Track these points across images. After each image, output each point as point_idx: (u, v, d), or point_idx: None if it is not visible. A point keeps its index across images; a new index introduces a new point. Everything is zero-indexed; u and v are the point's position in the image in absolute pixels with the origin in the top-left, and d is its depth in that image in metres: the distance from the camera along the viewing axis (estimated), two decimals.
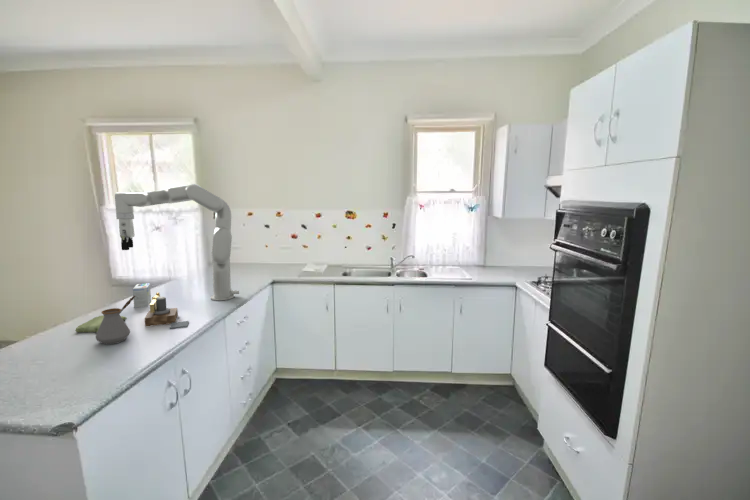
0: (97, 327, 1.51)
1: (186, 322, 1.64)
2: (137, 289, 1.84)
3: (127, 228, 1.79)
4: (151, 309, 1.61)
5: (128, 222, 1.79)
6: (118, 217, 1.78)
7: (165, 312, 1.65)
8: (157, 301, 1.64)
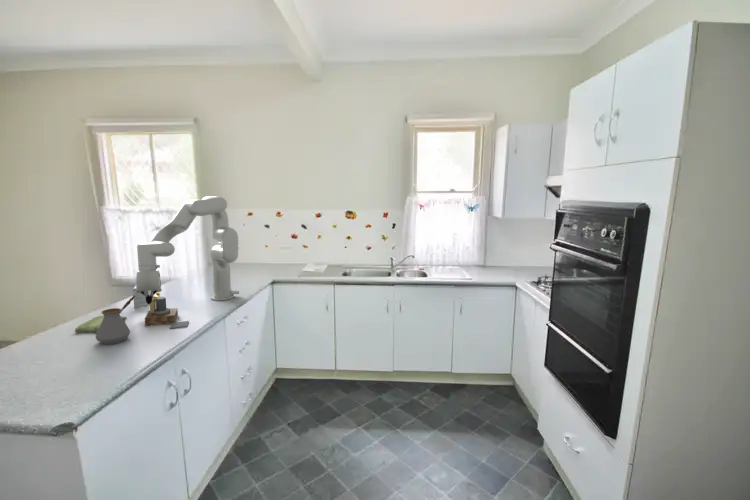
0: (97, 327, 1.51)
1: (186, 322, 1.64)
2: None
3: (160, 278, 1.76)
4: (151, 309, 1.61)
5: None
6: (153, 269, 1.71)
7: (165, 312, 1.65)
8: (157, 301, 1.64)
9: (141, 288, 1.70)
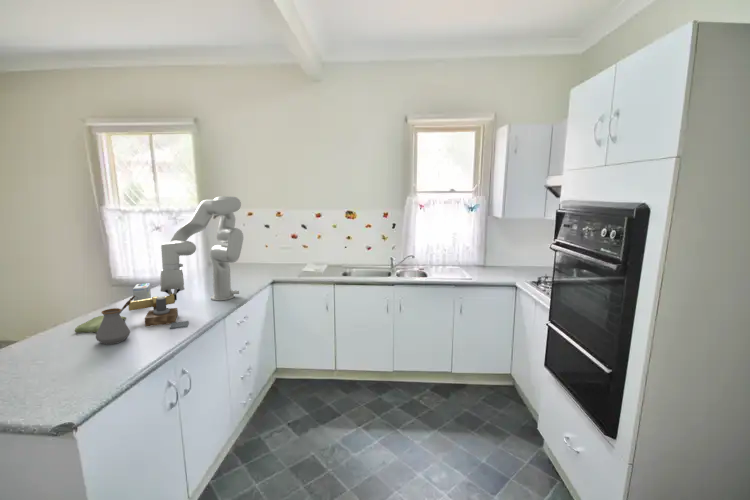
0: (96, 327, 1.51)
1: (186, 322, 1.64)
2: (137, 289, 1.84)
3: None
4: None
5: None
6: (177, 268, 1.75)
7: (165, 312, 1.65)
8: (157, 301, 1.64)
9: (165, 287, 1.74)
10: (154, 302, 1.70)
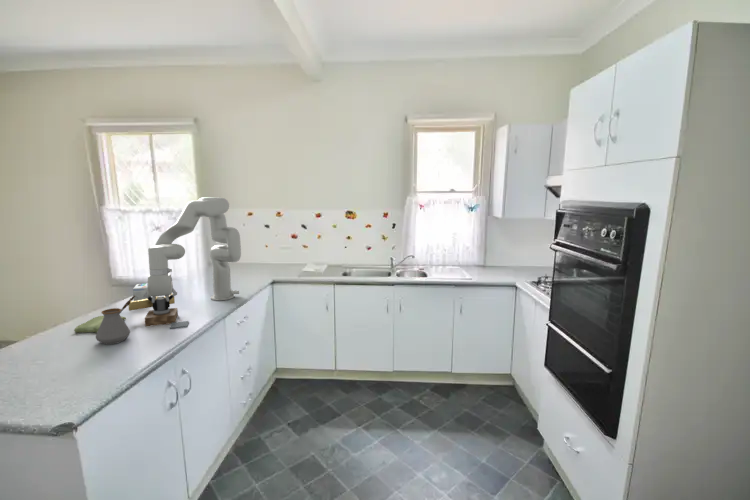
0: (96, 327, 1.51)
1: (186, 322, 1.64)
2: (137, 289, 1.84)
3: None
4: None
5: None
6: (165, 273, 1.63)
7: (165, 312, 1.65)
8: (157, 301, 1.64)
9: (152, 293, 1.62)
10: None
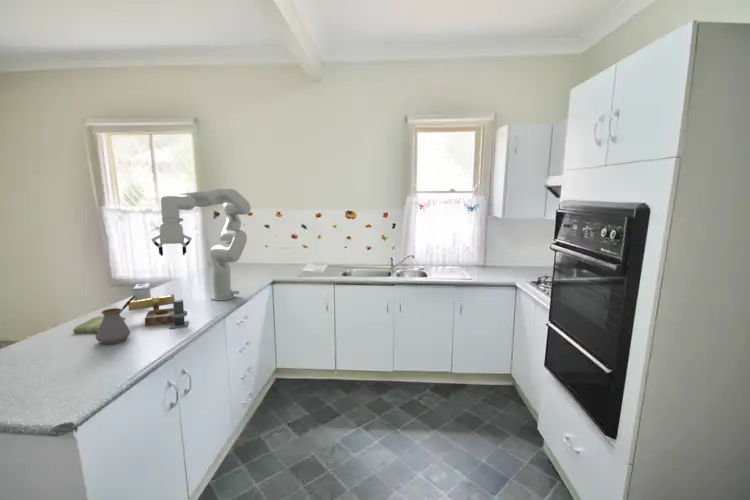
0: (95, 328, 1.51)
1: (186, 322, 1.64)
2: (137, 289, 1.84)
3: None
4: None
5: None
6: (177, 221, 1.71)
7: (182, 315, 1.59)
8: (174, 304, 1.59)
9: (165, 241, 1.70)
10: (154, 302, 1.70)
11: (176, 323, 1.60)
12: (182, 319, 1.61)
